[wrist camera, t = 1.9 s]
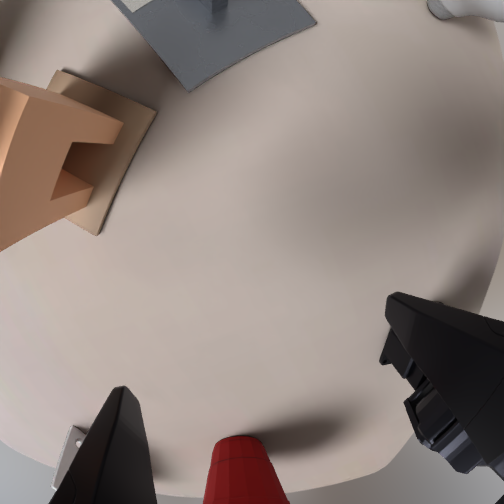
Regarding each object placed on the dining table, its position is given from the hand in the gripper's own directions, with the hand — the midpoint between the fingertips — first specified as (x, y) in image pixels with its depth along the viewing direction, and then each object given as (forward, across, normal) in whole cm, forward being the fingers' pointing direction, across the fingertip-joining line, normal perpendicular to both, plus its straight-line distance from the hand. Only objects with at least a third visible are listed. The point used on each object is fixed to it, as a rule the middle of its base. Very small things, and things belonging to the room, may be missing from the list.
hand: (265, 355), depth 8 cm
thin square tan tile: (+13, +8, -8) cm, 17 cm away
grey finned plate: (+13, -2, -18) cm, 23 cm away
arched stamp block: (+13, +8, -8) cm, 17 cm away
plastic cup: (+9, +5, +25) cm, 27 cm away
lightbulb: (+10, -24, -17) cm, 31 cm away
